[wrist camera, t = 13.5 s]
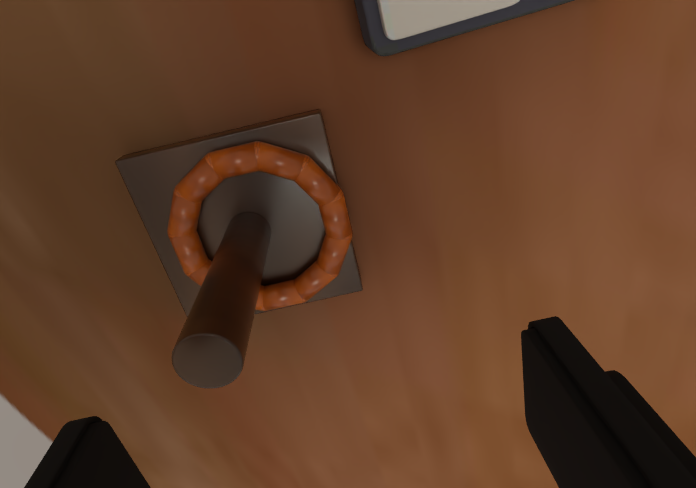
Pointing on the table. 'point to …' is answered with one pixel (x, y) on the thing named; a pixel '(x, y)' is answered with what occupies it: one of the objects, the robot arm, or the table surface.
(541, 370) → the robot arm
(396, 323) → the table surface
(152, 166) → the post
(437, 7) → the calculator
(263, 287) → the orange ring
